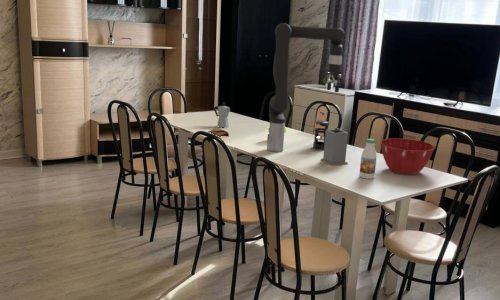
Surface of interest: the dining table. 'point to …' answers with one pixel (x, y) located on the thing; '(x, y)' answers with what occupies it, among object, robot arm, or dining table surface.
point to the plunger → (336, 130)
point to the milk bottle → (368, 160)
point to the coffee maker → (222, 115)
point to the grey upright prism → (335, 147)
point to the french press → (317, 143)
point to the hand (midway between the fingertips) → (332, 91)
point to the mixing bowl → (406, 155)
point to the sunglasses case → (219, 132)
